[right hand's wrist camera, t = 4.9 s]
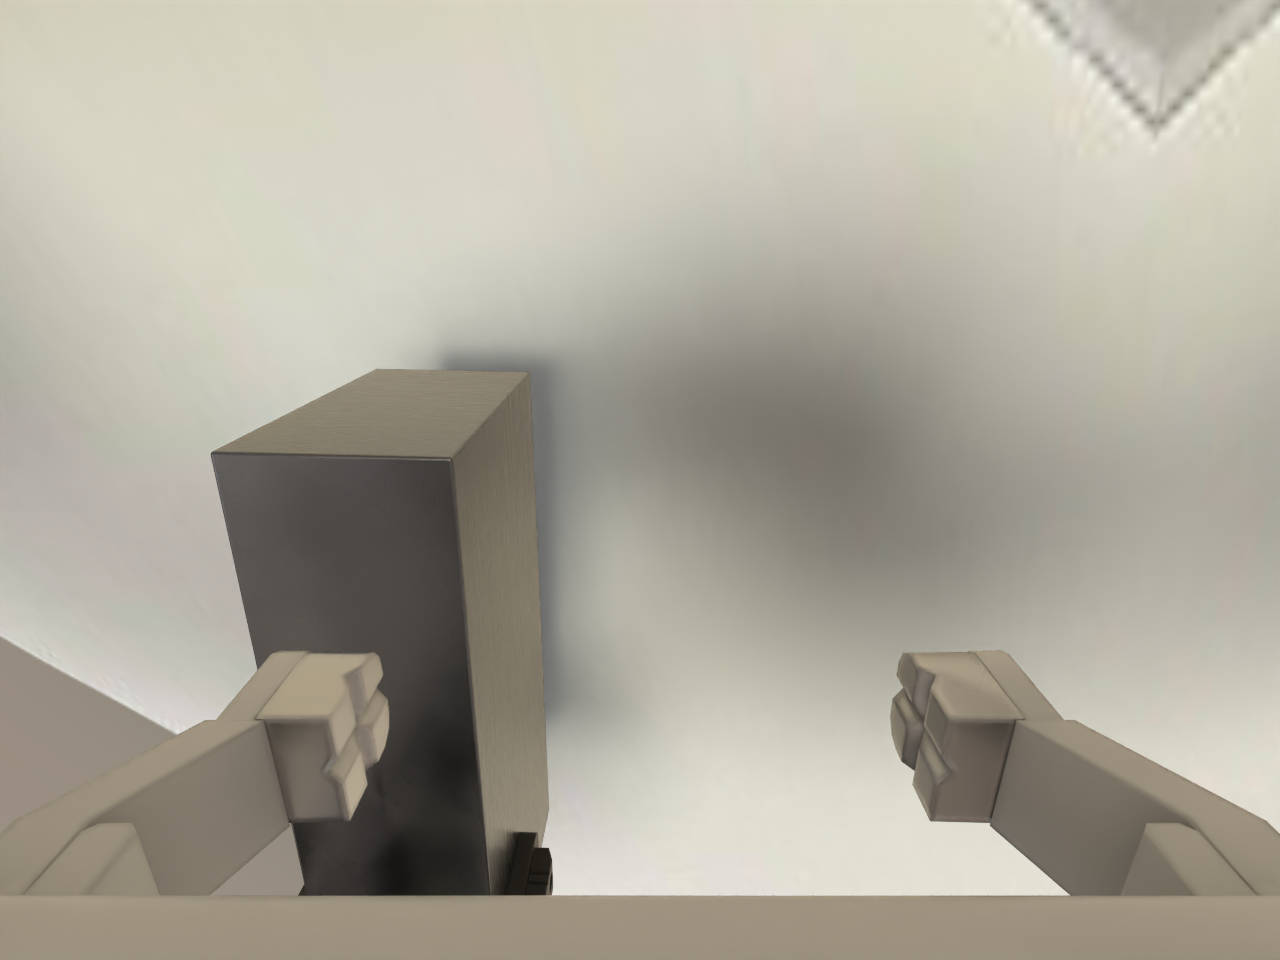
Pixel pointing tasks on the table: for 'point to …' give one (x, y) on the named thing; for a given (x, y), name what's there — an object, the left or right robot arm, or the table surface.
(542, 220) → the table surface
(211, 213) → the table surface
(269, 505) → the box
